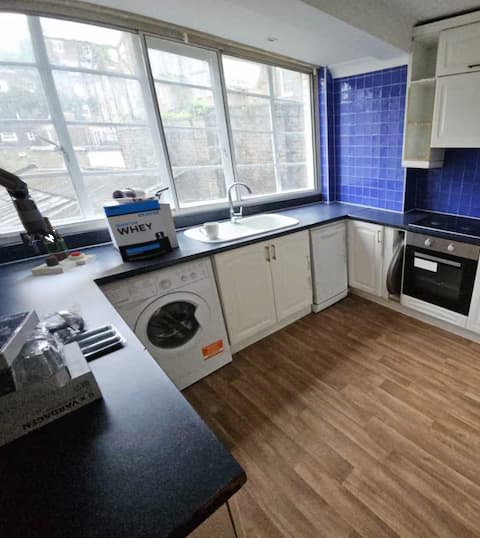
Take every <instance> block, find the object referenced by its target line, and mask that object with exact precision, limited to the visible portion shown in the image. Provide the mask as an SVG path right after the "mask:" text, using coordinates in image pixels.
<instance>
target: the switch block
mask: <svg viewBox="0 0 480 538" xmlns="http://www.w3.org/2000/svg"><path fill="white" fill-rule="evenodd" d="M80 254H81V255H79V256H75V257H72V255H71V254H70V256H68V258H67V259H65V260H63V261H74V260H75V262H76V264H77V266H80V265H87V264H89V263H91V262H93V261H94V260H96V259H98V257H97V254H95V253H94V254H85V253H83V252H80ZM63 261H60V262H63Z"/></svg>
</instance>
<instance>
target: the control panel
mask: <svg viewBox="0 0 480 538" xmlns="http://www.w3.org/2000/svg"><path fill="white" fill-rule="evenodd" d="M58 262H59V265H56V266H51V267H48V266H47V264H46V262H45V263H43V264H40V265H38V266H37V267H34V268H33V269H30V272H31V274H32V276H44V275H53V274H54V275H55V274H64V273H66V272H69V271H70V270H72V269H73V268H75V267H77V266H78V265H77V264H76V262H75V260H74V261H63V262H61V261H58Z"/></svg>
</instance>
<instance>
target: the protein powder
mask: <svg viewBox="0 0 480 538" xmlns="http://www.w3.org/2000/svg"><path fill="white" fill-rule="evenodd" d="M102 208H103V209H104V213H105V216H106V220H107V221H108V226H109V228H110V230H111V233H112V234H113V237H114V240H115V243H116V245H117V248H118V251H119V254H120V257H121V260H122V263H123V264H126V263H136V262H140V261H147V260H152V259H155V258H159V257H161V256H164V255H167V254H168V253H171V252H173V247H172V244H171V241H170V238H169V234H168V231H167V227H166V224H165V223H166V222H165V219H164V216H163V213H162V209H161V206H160V202H159V199H154V200H153V199H152V200H147V201H146V200H145V201H138V202H131V203H124V204H122V203H121V204H116V205H108V206H107V205H106V206H102Z"/></svg>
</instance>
